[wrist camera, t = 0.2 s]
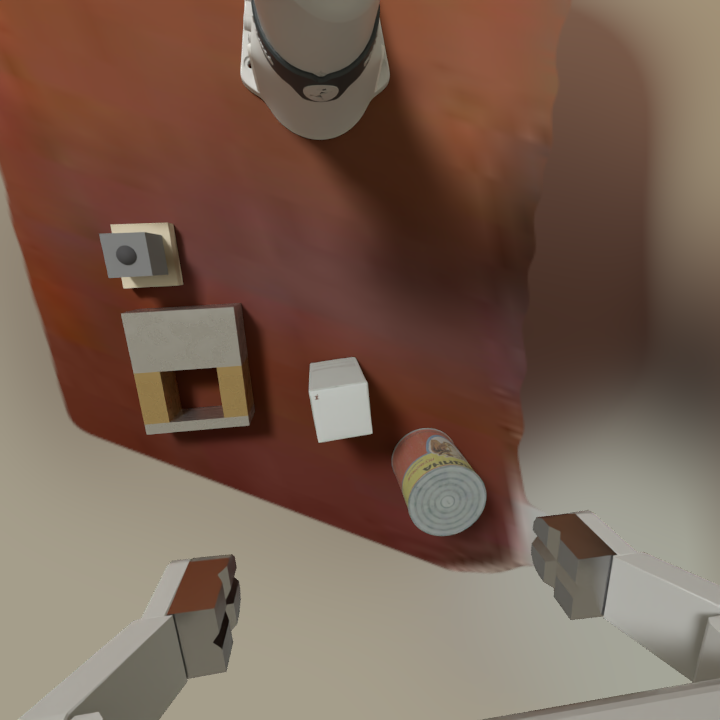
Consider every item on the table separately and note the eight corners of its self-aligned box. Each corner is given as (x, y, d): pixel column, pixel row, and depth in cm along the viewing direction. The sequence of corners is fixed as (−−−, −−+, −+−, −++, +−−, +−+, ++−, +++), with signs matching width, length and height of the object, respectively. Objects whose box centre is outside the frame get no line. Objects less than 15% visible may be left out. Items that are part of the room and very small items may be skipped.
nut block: (121, 236, 48) (98, 233, 43) (161, 235, 48) (144, 231, 43) (129, 276, 49) (108, 278, 44) (168, 274, 49) (152, 275, 45)
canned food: (465, 436, 63) (498, 475, 52) (443, 492, 65) (469, 542, 54) (403, 421, 61) (423, 458, 50) (383, 480, 63) (397, 528, 52)
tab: (118, 226, 49) (110, 224, 47) (173, 224, 50) (167, 222, 48) (130, 287, 51) (123, 288, 49) (183, 284, 52) (178, 285, 50)
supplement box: (316, 406, 59) (316, 444, 47) (309, 362, 57) (307, 389, 45) (362, 400, 59) (373, 435, 47) (357, 355, 57) (367, 380, 45)
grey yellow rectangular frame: (139, 308, 52) (120, 313, 47) (241, 303, 53) (233, 307, 49) (161, 419, 56) (146, 434, 52) (255, 411, 58) (249, 425, 53)
